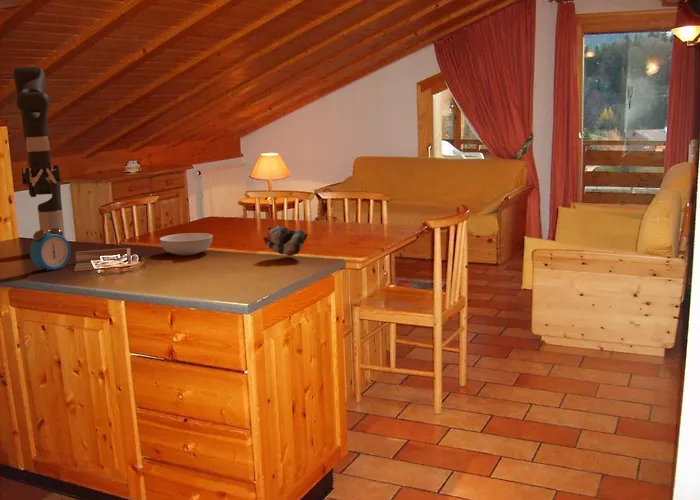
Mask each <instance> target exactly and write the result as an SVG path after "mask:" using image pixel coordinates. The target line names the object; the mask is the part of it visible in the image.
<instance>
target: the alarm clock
mask: <svg viewBox="0 0 700 500" xmlns="http://www.w3.org/2000/svg"><path fill="white" fill-rule="evenodd" d="M48 231H50V233H52V234H49V233H46V231H44V230H40V229H39V230H36V231H35V232H34V233H33V235H32V238H33V239H32V242H31V243H30V247H29V256H30V260H31V261H32V263H33V264H34V265H35V266H37V267H38V268H40V269H43V270H46V272H49V271H50V270H59V269H61V268H63V269H65V265H66V264H67V263H68V262H69V259H70V256H71V247H70V243H69V242H68V240H67V239H66V237H65V238H64V237H63V232H62V230H60V229H59V228H53V229H51V230H48ZM48 231H47V232H48Z"/></svg>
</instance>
